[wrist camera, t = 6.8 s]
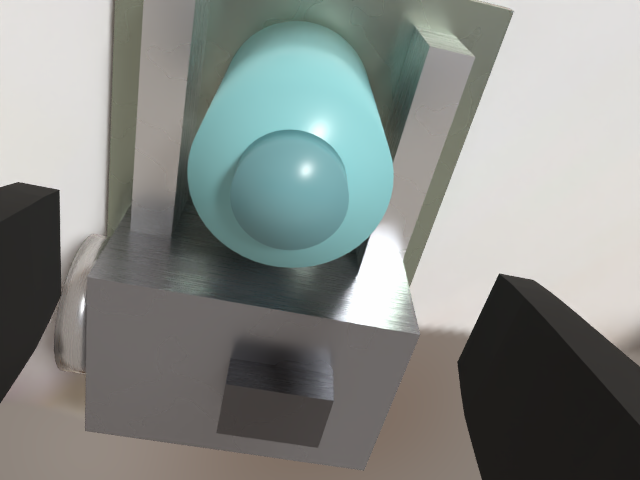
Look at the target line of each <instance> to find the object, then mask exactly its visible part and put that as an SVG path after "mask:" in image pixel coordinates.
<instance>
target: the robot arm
mask: <svg viewBox="0 0 640 480" xmlns="http://www.w3.org/2000/svg"><path fill="white" fill-rule="evenodd" d="M60 296H61V256H60V196H59V190H57V189H52V188H46V187H41V186H36V185H31V184H25V183H20V182H17V183H14V184H10V185H7V186H3V187H0V403H1V401H2V400H3V398H4V397H5V395H6V394H7V392H8V391H9V389H10V388H11V386H12V385H13V383H14V382H15V380H16V379H17V377H18V375H19V374H20V372H21V371H22V369H23V368H24V366H25V365H26V363H27V362H28V360H29V358H30V357H31V355H32V354H33V352H34V351H35V349H36V347H37V345H38V343H39V341H40V339H41V337H42V335H43V333H44V331H45V329H46V327H47V325H48V323H49V321H50V318H51V316H52V314H53V312H54V310H55V307H56V305H57V303H58V301H59V299H60ZM458 371H459V379H460V388H461V396H462V402H463V409H464V415H465V419H466V423H467V427H468V431H469V435H470V438H471V442H472V446H473V449H474V453H475V457H476V460H477V464H478V467H479V471H480V474H481V478H482V480H640V367H639V366H638V365H637V364H636V363H635V362H633V361H632V360H631V359H630V358H629V357H627V356H626V355H625V354H624V353H623V352H621V351H620V350H619V349H618V348H617V347H616V346H614V345H613V344H612V343H611V342H610V341H608V340H607V339H606V338H605V337H604V336H603V335H601V334H600V333H599V332H598V331H597V330H596V329H594V328H593V327H592V326H591V325H590V324H588V323H587V322H586V321H585V320H584V319H583V318H581V317H580V316H579V315H578V314H577V313H576V312H574V311H573V310H572V309H571V308H570V307H568V306H567V305H566V304H565V303H563V302H562V301H561V300H560V299H559V298H557V297H556V296H555V295H553V294H552V293H551V292H550V291H548V290H547V289H546V288H544V287H543V286H541V285H540V284H538V283H537V282H535V281H534V280H530V279H525V278H520V277H515V276H509V275H504V274H499V275H498V277H497V279H496V282H495V284H494V286H493V288H492V290H491V292H490V294H489V296H488V298H487V301H486V303H485V305H484V307H483V309H482V311H481V313H480V315H479V318H478V320H477V322H476V324H475V326H474V328H473V330H472V332H471V335H470V337H469V339H468V341H467V343H466V345H465V347H464V350H463V352H462V354H461V356H460V358H459V360H458Z"/></svg>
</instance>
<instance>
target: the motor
mask: <svg viewBox="0 0 640 480" xmlns="http://www.w3.org/2000/svg"><path fill="white" fill-rule="evenodd" d="M513 12H514V11H513V10H511V9H509V8H506V7H502V6H498V5H494V4H490V3H486V2H482V1H478V0H115V13H114V42H113V72H112V102H111V132H110V161H109V191H108V221H107V236H103V235H97V234H92V235H90V236H89V237H88V238H87V239H86V240H85V241H84V242H83V243H82V245H81V247H80V248H79V250H78V252H77V254H76V256H75V258H74V260H73V262H72V264H71V267H70V270H69V272H68V275H67V278H66V281H65V284H64V288H63V291H62V295H61V299H60V303H59V308H58V313H57V319H56V326H55V336H54V354H55V361H56V364H57V366H58V368H59V369H60V370H62V371H67V372H74V373H80V374H86V407H85V431H90V432H97V433H104V434H111V435H118V436H125V437H132V438H139V439H146V440H153V441H160V442H167V443H174V444H181V445H188V446H195V447H203V448H210V449H216V450H223V451H231V452H238V453H244V454H251V455H258V456H265V457H272V458H279V459H286V460H293V461H300V462H308V463H315V464H322V465H329V466H336V467H343V468H350V469H357V470H364V469H365V467H366V465H367V462H368V460H369V457H370V455H371V452H372V450H373V447H374V445H375V443H376V440H377V438H378V435H379V433H380V430H381V428H382V426H383V423H384V421H385V418H386V416H387V413H388V411H389V409H390V406H391V404H392V401H393V399H394V396H395V394H396V392H397V389H398V387H399V384H400V382H401V380H402V377H403V375H404V372H405V370H406V367H407V365H408V363H409V360H410V358H411V355H412V353H413V350H414V348H415V345H416V343H417V341H418V338H419V336H420V332H419V328H418V324H417V319H416V315H415V311H414V307H413V302H412V298H411V294H410V289H409V287H410V285H411V282H412V279H413V277H414V274H415V271H416V269H417V266H418V263H419V261H420V258H421V256H422V253H423V250H424V248H425V245H426V242H427V240H428V237H429V234H430V232H431V229H432V226H433V224H434V221H435V218H436V216H437V213H438V211H439V208H440V205H441V203H442V200H443V197H444V195H445V192H446V189H447V187H448V184H449V181H450V179H451V176H452V173H453V171H454V168H455V166H456V163H457V160H458V158H459V155H460V152H461V150H462V147H463V144H464V142H465V139H466V136H467V134H468V131H469V128H470V126H471V123H472V121H473V118H474V115H475V113H476V110H477V107H478V105H479V102H480V99H481V97H482V94H483V91H484V89H485V86H486V83H487V81H488V78H489V76H490V73H491V70H492V68H493V65H494V62H495V60H496V57H497V54H498V52H499V49H500V46H501V44H502V41H503V38H504V36H505V33H506V31H507V28H508V25H509V23H510V20H511V17H512V15H513ZM286 21H305V22H311V23H315V24H319V25H321V26H324V27H327V28H329V29H330V30H332V31H334V32H336V33H337V34H339V35H340V36H341V37H343V38H344V39H345V40H346V41H347V42H348V43H349V44H350V45H351V46H352V47H353V49H354V50H355V51H356V52H357V54H358V56H359V57H360V59H361V61H362V63H363V65H364V68H365V70H366V73H367V76H368V80H369V83H370V86H371V90H372V93H373V96H374V100H375V103H376V106H377V110H378V113H379V116H380V120H381V123H382V126H383V130H384V133H385V136H386V140H387V143H388V146H389V150H390V154H391V157H392V162H393V171H394V177H393V189H392V195H391V199H390V202H389V205H388V208H387V210H386V212H385V214H384V216H383V218H382V220H381V221H380V223H379V224H378V226H377V227H376V229H375V230H374V231H373V232H372V233H371V235H370V236H369V237H368V238H367V239H366V240H365V241H364V242H362V243H361V244H360V245H359V246H358V247H356V248H355V249H353V250H352V251H350V252H349V253H347V254H345V255H343V256H341V257H339V258H337V259H335V260H332V261H330V262H327V263H323V264H319V265H316V266H309V267H300V268H286V267H276V266H270V265H266V264H262V263H259V262H255V261H253V260H250V259H248V258H246V257H243V256H241V255H240V254H238V253H236V252H234V251H233V250H231V249H230V248H228V247H227V246H226V245H224V244H223V243H222V242H221V241H220V240H218V239H217V238H216V237H215V236H214V235H213V234H212V233H211V231H210V230H209V229H208V228H207V227H206V226H205V224H204V222H203V221H202V219H201V218H200V216H199V215H198V213H197V210H196V208H195V206H194V204H193V201H192V198H191V195H190V191H189V185H188V173H187V167H188V159H189V154H190V150H191V146H192V143H193V141H194V138H195V136H196V134H197V132H198V129H199V127H200V125H201V123H202V121H203V119H204V117H205V115H206V113H207V111H208V109H209V107H210V105H211V102H212V100H213V98H214V96H215V94H216V92H217V90H218V88H219V86H220V84H221V82H222V80H223V78H224V75H225V73H226V71H227V69H228V67H229V65H230V63H231V61H232V59H233V57H234V56H235V54H236V52H237V51H238V49H239V48H240V47H241V46H242V45H243V43H244V42H245V41H246V40H248V39H249V38H250V37H251V36H252V35H254V34H255V33H257V32H258V31H260V30H262V29H264V28H266V27H268V26H270V25H273V24H276V23H281V22H286Z"/></svg>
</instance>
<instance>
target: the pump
mask: <svg viewBox="0 0 640 480" xmlns="http://www.w3.org/2000/svg"><path fill="white" fill-rule="evenodd" d="M187 173H188V185H189V191H190V195H191V198H192V201H193V204H194V206H195V208H196V210H197V213H198V215H199V216H200V218H201V219H202V221H203V222H204V224H205V226H206V227H207V228H208V229H209V230H210V231H211V233H212V234H213V235H214V236H215V237H216V238H217V239H218V240H220V241H221V242H222V243H223V244H224V245H226V246H227V247H228V248H230V249H231V250H233V251H234V252H236V253H238V254H240V255H241V256H243V257H246V258H248V259H250V260H253V261H255V262H259V263H262V264H266V265H270V266H276V267H286V268H300V267H309V266H316V265H319V264H323V263H327V262H330V261H332V260H335V259H337V258H339V257H341V256H343V255H345V254H347V253H349V252H350V251H352V250H353V249H355V248H356V247H358V246H359V245H360V244H361V243H362V242H364V241H365V240H366V239H367V238H368V237H369V236H370V235H371V233H372V232H373V231H374V230H375V229H376V227H377V226H378V224H379V223H380V221H381V220H382V218H383V216H384V214H385V212H386V210H387V208H388V205H389V202H390V199H391V195H392V189H393V177H394V171H393V162H392V157H391V154H390V150H389V146H388V143H387V140H386V136H385V133H384V130H383V126H382V123H381V120H380V116H379V113H378V110H377V106H376V103H375V100H374V96H373V93H372V90H371V86H370V83H369V80H368V76H367V73H366V70H365V68H364V65H363V63H362V61H361V59H360V57H359V56H358V54H357V52H356V51H355V50H354V49H353V47H352V46H351V45H350V44H349V43H348V42H347V41H346V40H345V39H344V38H343V37H341V36H340V35H339V34H337V33H336V32H334V31H332V30H330V29H329V28H327V27H324V26H321V25H319V24H315V23H311V22H305V21H286V22H281V23H276V24H273V25H270V26H268V27H266V28H264V29H262V30H260V31H258V32H257V33H255V34H254V35H252V36H251V37H250V38H249V39H248V40H246V41H245V42H244V43H243V45H242V46H241V47H240V48H239V49H238V51H237V52H236V54H235V56H234V57H233V59H232V61H231V63H230V65H229V67H228V69H227V71H226V73H225V75H224V78H223V80H222V82H221V84H220V86H219V88H218V90H217V92H216V94H215V96H214V98H213V100H212V102H211V105H210V107H209V109H208V111H207V113H206V115H205V117H204V119H203V121H202V123H201V125H200V127H199V129H198V132H197V134H196V136H195V138H194V141H193V143H192V146H191V150H190V154H189V159H188V167H187Z"/></svg>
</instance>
